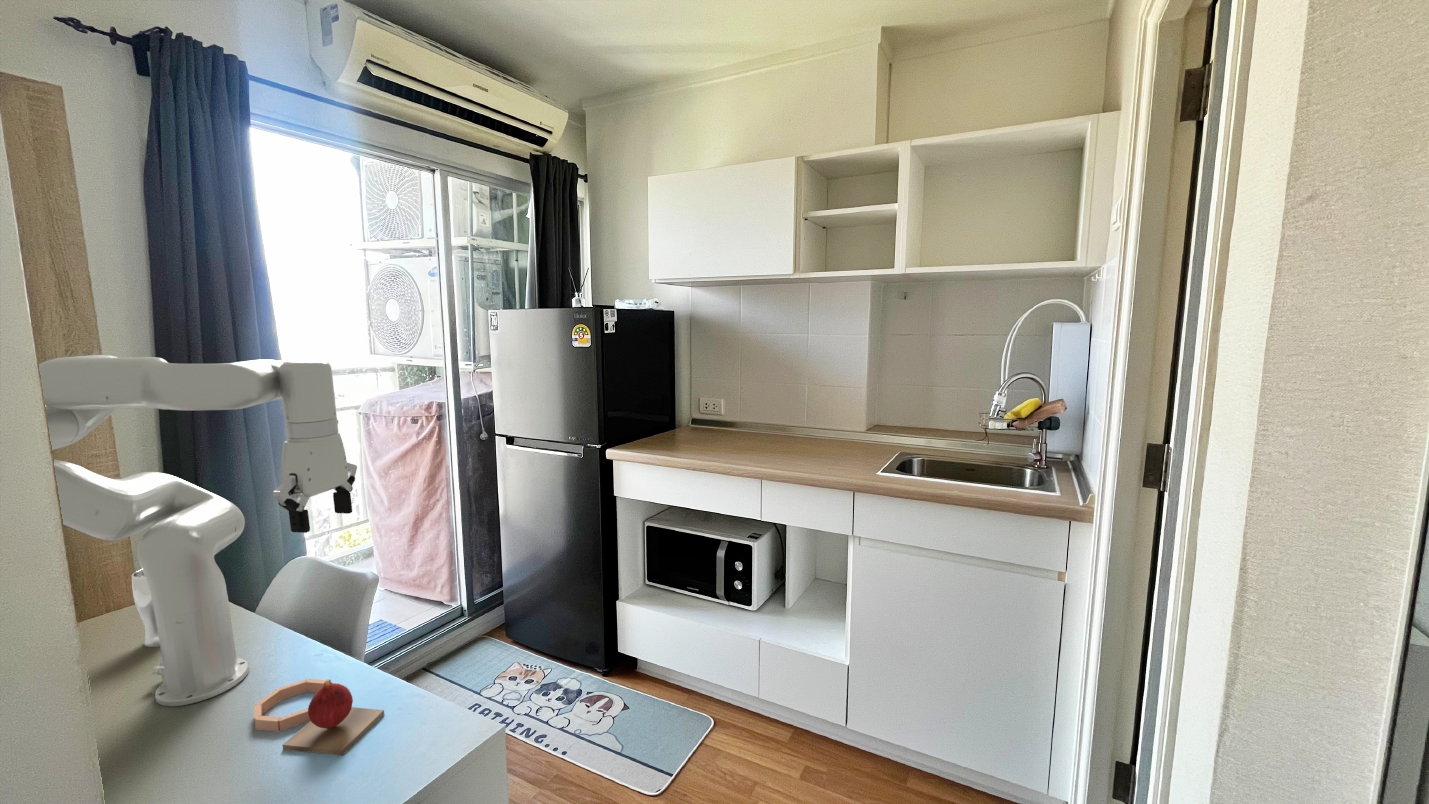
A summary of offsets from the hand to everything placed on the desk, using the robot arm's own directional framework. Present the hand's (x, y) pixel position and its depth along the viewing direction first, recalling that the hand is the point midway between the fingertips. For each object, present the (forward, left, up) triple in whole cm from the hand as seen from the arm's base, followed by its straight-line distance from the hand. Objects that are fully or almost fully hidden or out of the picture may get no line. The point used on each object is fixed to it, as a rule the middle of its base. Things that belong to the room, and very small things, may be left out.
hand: (323, 521), depth 104 cm
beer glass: (-43, +4, -28) cm, 52 cm away
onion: (+13, -16, -28) cm, 35 cm away
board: (+13, -16, -28) cm, 35 cm away
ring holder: (+2, -12, -28) cm, 31 cm away
